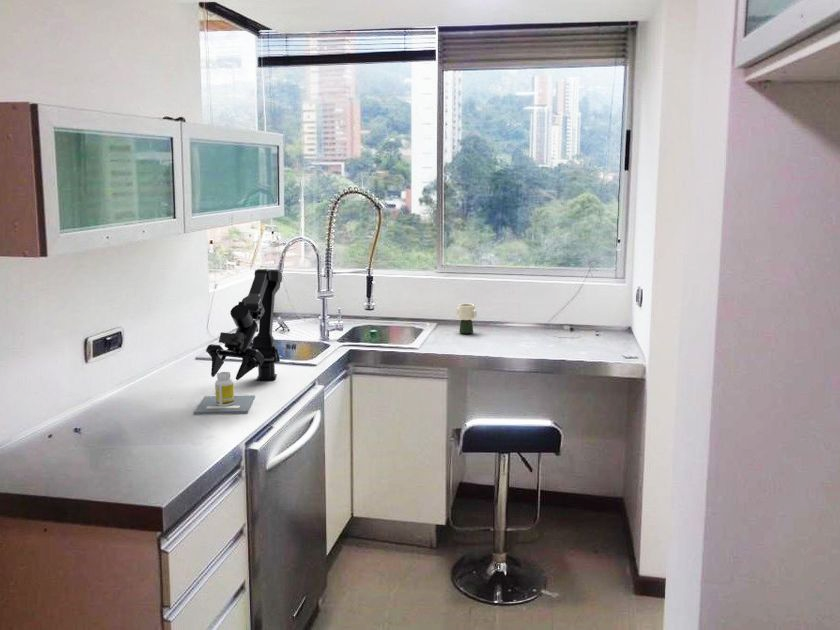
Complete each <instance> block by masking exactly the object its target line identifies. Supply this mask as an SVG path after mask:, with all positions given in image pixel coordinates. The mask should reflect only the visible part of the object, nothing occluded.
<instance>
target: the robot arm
mask: <svg viewBox="0 0 840 630" xmlns="http://www.w3.org/2000/svg"><path fill="white" fill-rule="evenodd" d="M282 281H283V274H282V271H281V272H280V270H279V269H272V268H271V269H268V268H258V269H255V271H254V278H253V280H252V284H251V286H250V290H249V291H248V294H247V296H245V297H243V298H242V300H241V301H238V304H236V305H234V306H233V307H232V309H230V312H229V313H230V316H231V318H232V320H233V322H234V325H235V326H236V327H237V329H236V331H235V332H232V333H231V332H220V333H219V339H218V343H219V344H213V343H212V344H208V345H207V347H206V349H205V352H206V353H208V356H209V357H210V358H211V369H210V370H211V371H210V375H211V377H212V378H214V377H215V376H217V373H219V371H220V370H221V368H222V366H223V365H224V364H225V361H224V360H226V358H227V357H230V358H238V359H239V358H240V359H242V360H241V365H240V366H239V368H238V371H237V372H236V376H235V380H236V381H239V380H240V379H242V378H243V377H244V376H245V375H246V374H248V373H249V372H250V371H252V370H253V369H254V368H255V369H256V368H257V373H258V374H257V377H256V378H255V380H256V381H276V378H277V377H278V374H277V373H276V369H275V365H276V363H279V362H280V361H281V356H280V355H281V354H280V351H279V349H278V346H277V342H276V340H275V338H274V337H273V325H274V323H273V322H274V313H275V311H274V310H275V296H276V294H277V293H278V291H279V290H280V288H281V283H282ZM256 320H259V322H257V321H256ZM258 323H259V326H258ZM256 333H257V334H256ZM255 334H256V336H255ZM220 343H221V344H224V347H225V348H226V349H224V348H223V347H222V346H221V345H220ZM249 347H251V348H249Z"/></svg>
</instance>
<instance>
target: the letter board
mask: <svg viewBox="0 0 840 630" xmlns="http://www.w3.org/2000/svg"><path fill="white" fill-rule="evenodd" d="M254 398H255V399H256V395H255V394H254V395H252V394H251V395H247V394H246V395H245V394H244V395H234V403H233V404H232V405H229V406H219V405H217V404H216V395H213V396H212V395H211V396H210V395H207V396H206V395H205V396H204V397H203V398H202V399H201V400H200V402H199V404H198V405H197V407H196V408H195V410H194V411H193V415H224V414H225V415H227V414H228V415H229V414H235V415H236V414H237V415H238V414H248V413H249V411H250V409H251V407H252V405H253V403H254V401H255V399H254ZM253 400H254V401H253Z"/></svg>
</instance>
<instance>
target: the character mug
mask: <svg viewBox="0 0 840 630" xmlns="http://www.w3.org/2000/svg"><path fill="white" fill-rule="evenodd" d="M456 315H458V319H459V320H461V321H460V324H459V333H460V334H468V335H469V334H471V333H474V326H473V321H472V320H474V319H475V318H477V310H476V309H475V304H473V303H460V304H459V303H458V307H456Z"/></svg>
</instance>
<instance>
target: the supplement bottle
mask: <svg viewBox="0 0 840 630" xmlns="http://www.w3.org/2000/svg"><path fill="white" fill-rule="evenodd" d="M216 377H217V380H216V381H215V382H214V386H215V396H216V404H217V405H219V406H229V405H232V404H233V403H234V396H235V395H234V381H233V380H232V379H231V372H229V371H221V372H217V374H216Z"/></svg>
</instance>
